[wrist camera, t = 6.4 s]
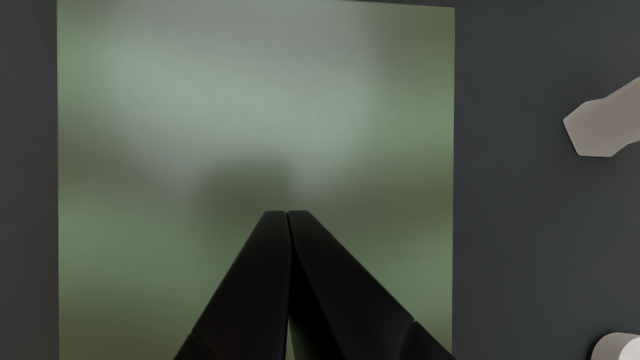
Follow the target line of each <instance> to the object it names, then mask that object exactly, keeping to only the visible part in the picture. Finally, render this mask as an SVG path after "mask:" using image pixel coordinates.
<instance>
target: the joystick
mask: <svg viewBox="0 0 640 360" xmlns="http://www.w3.org/2000/svg"><path fill="white" fill-rule="evenodd" d="M591 360H640V335H634V334H627V333H618V332H617V333H611V334H608V335H606V336H604V337H603V338H602V339H600V340H599V342H598V343H597V344H596V346H595V348H594V350H593V353H592V356H591Z"/></svg>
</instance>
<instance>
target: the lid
mask: <svg viewBox="0 0 640 360" xmlns="http://www.w3.org/2000/svg"><path fill="white" fill-rule="evenodd" d="M454 49H455V8H451V7H437V6H423V5H409V4H395V3H381V2H367V1H353V0H57V91H58V242H59V360H173V359H174V357H175V356H176V354H177V353H178V351H179V349H180V348H181V346H182V344H183V343H184V341H185V339H186V338H187V336H188V335H189V334H190V333H191V331H192V328H193V327H194V325H195V324H196V322H197V320H198V319H199V317H200V315H201V314H202V312H203V310H204V309H205V307H206V306H207V304H208V302H209V301H210V299H211V297H212V296H213V294H214V293H215V291H216V289H217V288H218V286H219V284H220V283H221V281H222V279H223V278H224V276H225V275H226V273H227V271H228V270H229V268H230V266H231V265H232V263H233V261H234V260H235V258H236V257H237V255H238V253H239V252H240V250H241V248H242V247H243V245H244V244H245V242H246V240H247V239H248V237H249V235H250V234H251V232H252V230H253V229H254V227H255V226H256V224H257V222H258V221H259V219H260V217H261V216H262V214H263V213H264V211H266V210H284V211H286V213H287V212H288V211H289V210H308V211H310V212H311V213H312V214H313V215H314V216H315V217H316V218H317V219H318V221H319V222H320V223H321V224H322V225H323V226H324V227H325V228H326V229H327V230H328V231H329V232H330V233H331V234H332V235H333V236H334V237H335V238H336V239H337V240H338V241H339V242H340V243H341V244H342V245H343V246H344V247H345V248H346V249H347V250H348V251H349V252H350V253H351V254H352V255H353V256H354V257H355V258H356V259H357V260H358V261H359V262H360V263H361V264H362V265H363V266H364V267H365V268H366V269H367V270H368V271H369V272H370V273H371V274H372V275H373V276H374V277H375V278H376V280H377V281H378V282H379V283H380V284H381V285H382V286H383V287H384V288H385V289H386V290H387V291H388V292H389V293H390V294H391V295H392V296H393V297H394V298H395V299H396V300H397V301H398V302H399V303H400V304H401V305H402V306H403V307H404V308H405V309H406V310H407V311H408V312H409V313H410V314H411V315H412V316H413V317H414V321H418V322H419V323H420V324H421V325H422V326H423V327H424V328H425V329H426V330H427V331H428V332H429V333H430V334H431V335H432V336H433V337H434V338H435V339H436V340H437V341H438V342H439V343H440V344H441V345H442V346H443V347H444V348H445V349H446V350H447V351H448V352H449V353H450V354H451V355H452V255H453V152H454ZM286 360H295V357H294V352H293V346H292V341H291V335H290V329H289V321H288V333H287V347H286Z"/></svg>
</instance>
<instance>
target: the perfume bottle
mask: <svg viewBox="0 0 640 360" xmlns="http://www.w3.org/2000/svg"><path fill="white" fill-rule="evenodd" d="M563 123H564V125H565V128H566V130H567V132H568V134H569V136H570V139H571V141H572V143H573V145H574V147H575V150H576V152H577V153H578V154H579V155H580V156H599V157H611V156H613V155H614V154H615V153H616V152H618V151H619V150H620V149H622V148H623V147H624V146H626V145H627V144H630V143H633V142H637V141H640V77H638V78H636V79H635V80H633V81H632V82H630V83H628V84H627V85H625V86H623V87H622V88H620V89H619V90H617V91H615V92H614V93H612V94H610V95H609V96H607V97H605V98H602V99H597V100H593V101H588V102H584V103H583V104H582V105H580V106H579V107H578V108H577V109H575V110H574V111H573V112H572V113H570V114H569V115H568V116H567V117H565V118H564V120H563Z"/></svg>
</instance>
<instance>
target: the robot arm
mask: <svg viewBox="0 0 640 360" xmlns="http://www.w3.org/2000/svg"><path fill="white" fill-rule="evenodd" d="M288 321H289V329H290V335H291V341H292V346H293V352H294V357H295V360H457V359H456V358H455V357H454V356H452V355H451V354H450V353H449V352H448V351H447V350H446V349H445V348H444V347H443V346H442V345H441V344H440V343H439V342H438V341H437V340H436V339H435V338H434V337H433V336H432V335H431V334H430V333H429V332H428V331H427V330H426V329H425V328H424V327H423V326H422V325H421V324H420V323H419V322H418V321H414V317H413V316H412V315H411V314H410V313H409V312H408V311H407V310H406V309H405V308H404V307H403V306H402V305H401V304H400V303H399V302H398V301H397V300H396V299H395V298H394V297H393V296H392V295H391V294H390V293H389V292H388V291H387V290H386V289H385V288H384V287H383V286H382V285H381V284H380V283H379V282H378V281H377V280H376V278H375V277H374V276H373V275H372V274H371V273H370V272H369V271H368V270H367V269H366V268H365V267H364V266H363V265H362V264H361V263H360V262H359V261H358V260H357V259H356V258H355V257H354V256H353V255H352V254H351V253H350V252H349V251H348V250H347V249H346V248H345V247H344V246H343V245H342V244H341V243H340V242H339V241H338V240H337V239H336V238H335V237H334V236H333V235H332V234H331V233H330V232H329V231H328V230H327V229H326V228H325V227H324V226H323V225H322V224H321V223H320V222H319V221H318V219H317V218H316V217H315V216H314V215H313V214H312V213H311V212H310V211H308V210H289V211H288V212H287V213H286V211H284V210H266V211H264V213H263V214H262V216H261V217H260V219H259V221H258V222H257V224H256V226H255V227H254V229H253V230H252V232H251V234H250V235H249V237H248V239H247V240H246V242H245V244H244V245H243V247H242V248H241V250H240V252H239V253H238V255H237V257H236V258H235V260H234V261H233V263H232V265H231V266H230V268H229V270H228V271H227V273H226V275H225V276H224V278H223V279H222V281H221V283H220V284H219V286H218V288H217V289H216V291H215V293H214V294H213V296H212V297H211V299H210V301H209V302H208V304H207V306H206V307H205V309H204V310H203V312H202V314H201V315H200V317H199V319H198V320H197V322H196V324H195V325H194V327H193V328H192V331H191V333H190V334H189V335H188V336H187V338H186V339H185V341H184V343H183V344H182V346H181V348H180V349H179V351H178V353H177V354H176V356H175V357H174V359H173V360H286V347H287V333H288Z"/></svg>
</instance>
